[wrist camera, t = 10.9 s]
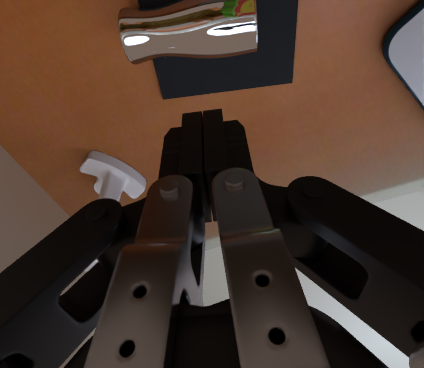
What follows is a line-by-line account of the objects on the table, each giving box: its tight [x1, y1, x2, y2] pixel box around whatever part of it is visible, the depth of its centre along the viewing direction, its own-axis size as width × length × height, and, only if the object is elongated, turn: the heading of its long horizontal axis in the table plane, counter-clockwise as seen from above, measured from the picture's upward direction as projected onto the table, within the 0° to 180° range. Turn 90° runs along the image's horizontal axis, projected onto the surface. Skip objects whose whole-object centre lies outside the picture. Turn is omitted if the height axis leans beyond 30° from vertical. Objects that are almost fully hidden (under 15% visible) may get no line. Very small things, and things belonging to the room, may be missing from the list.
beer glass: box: [118, 0, 258, 65], centre depth 34 cm, size 7×7×15 cm
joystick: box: [80, 151, 146, 272], centre depth 46 cm, size 11×8×20 cm
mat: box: [138, 0, 298, 99], centre depth 38 cm, size 15×19×1 cm
